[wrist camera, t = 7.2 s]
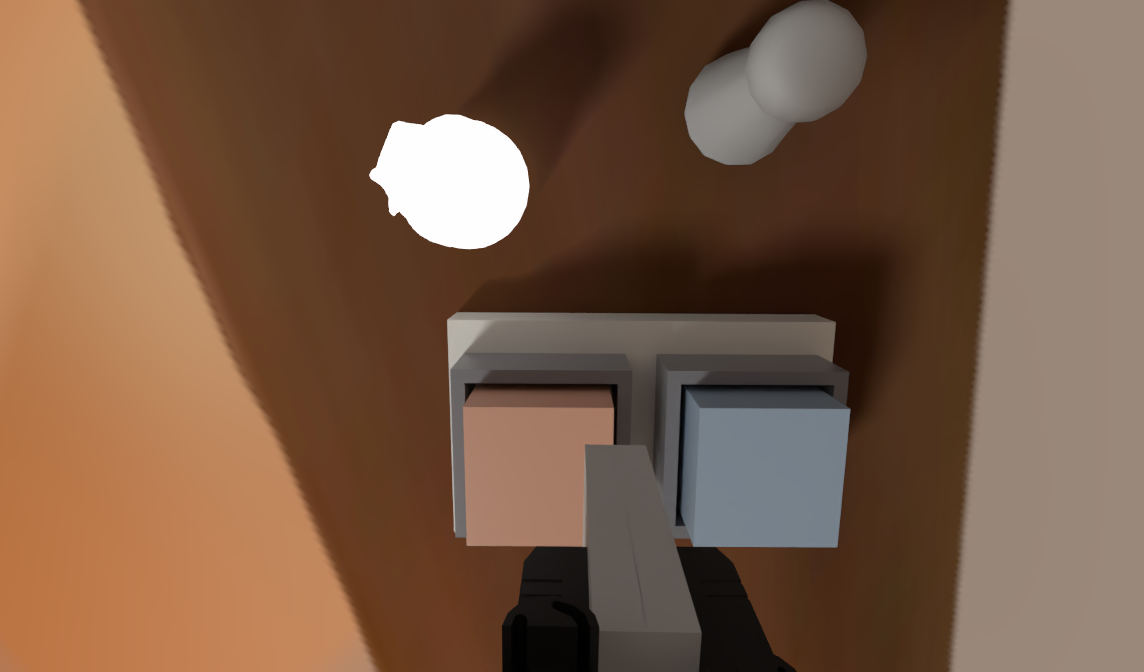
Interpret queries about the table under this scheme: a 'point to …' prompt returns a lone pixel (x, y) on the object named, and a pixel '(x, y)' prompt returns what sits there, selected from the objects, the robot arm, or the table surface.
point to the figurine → (454, 180)
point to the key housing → (635, 370)
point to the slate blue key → (761, 465)
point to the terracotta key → (530, 460)
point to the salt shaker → (776, 82)
